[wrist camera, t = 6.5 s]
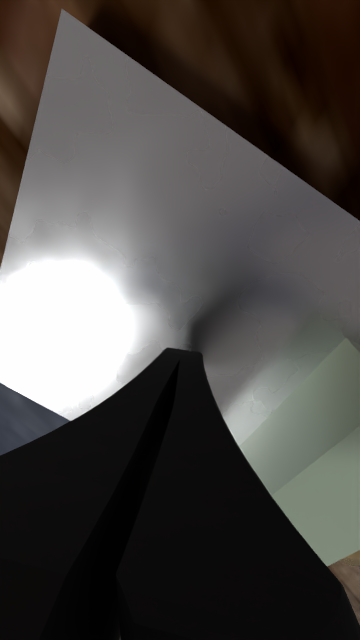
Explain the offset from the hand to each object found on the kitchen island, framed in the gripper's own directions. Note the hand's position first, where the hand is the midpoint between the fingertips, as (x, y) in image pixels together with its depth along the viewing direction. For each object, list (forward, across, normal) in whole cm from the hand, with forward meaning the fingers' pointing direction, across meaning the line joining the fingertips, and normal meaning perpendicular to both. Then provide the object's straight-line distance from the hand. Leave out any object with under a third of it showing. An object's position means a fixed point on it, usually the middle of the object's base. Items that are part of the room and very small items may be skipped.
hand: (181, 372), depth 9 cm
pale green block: (+1, -6, +3) cm, 7 cm away
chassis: (+2, -1, +1) cm, 3 cm away
